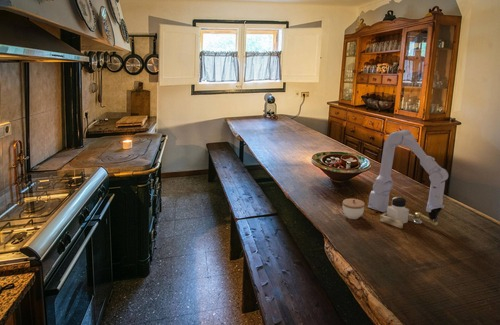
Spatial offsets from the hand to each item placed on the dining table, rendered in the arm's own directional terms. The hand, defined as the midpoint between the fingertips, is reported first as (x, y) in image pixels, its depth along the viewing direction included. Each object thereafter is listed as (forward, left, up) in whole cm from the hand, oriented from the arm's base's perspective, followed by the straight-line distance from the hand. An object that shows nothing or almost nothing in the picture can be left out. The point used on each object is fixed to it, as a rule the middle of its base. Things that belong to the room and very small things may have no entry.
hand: (432, 221), depth 163 cm
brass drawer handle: (-3, -1, 0) cm, 3 cm away
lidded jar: (-32, -18, -3) cm, 36 cm away
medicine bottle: (-14, -6, -3) cm, 16 cm away
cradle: (-14, -6, -3) cm, 16 cm away
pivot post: (-7, 0, -3) cm, 7 cm away
